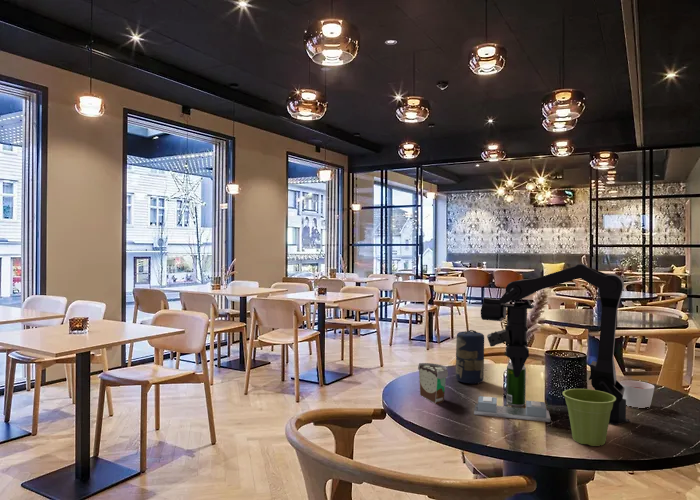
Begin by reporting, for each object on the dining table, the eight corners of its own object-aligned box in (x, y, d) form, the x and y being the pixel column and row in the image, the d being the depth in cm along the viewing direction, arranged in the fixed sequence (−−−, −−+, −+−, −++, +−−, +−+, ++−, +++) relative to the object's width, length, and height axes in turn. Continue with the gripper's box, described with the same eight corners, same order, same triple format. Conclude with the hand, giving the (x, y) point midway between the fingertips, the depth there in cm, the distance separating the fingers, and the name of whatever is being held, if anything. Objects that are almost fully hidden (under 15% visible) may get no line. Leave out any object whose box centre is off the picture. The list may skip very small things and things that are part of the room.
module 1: (496, 406, 148) (496, 396, 148) (496, 412, 143) (496, 402, 143) (478, 404, 150) (478, 395, 150) (477, 410, 144) (477, 401, 144)
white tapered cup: (646, 412, 147) (647, 390, 147) (614, 404, 154) (614, 383, 154) (659, 406, 153) (659, 385, 153) (627, 399, 160) (627, 378, 160)
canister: (450, 379, 182) (451, 328, 182) (474, 377, 185) (474, 327, 185) (464, 386, 173) (465, 332, 173) (489, 384, 176) (489, 331, 175)
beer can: (517, 408, 150) (517, 367, 150) (502, 403, 154) (503, 363, 154) (529, 405, 153) (529, 365, 153) (514, 400, 157) (514, 361, 157)
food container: (456, 403, 154) (456, 370, 154) (438, 405, 151) (438, 372, 151) (434, 392, 165) (434, 361, 165) (417, 394, 163) (418, 362, 163)
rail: (548, 414, 145) (548, 410, 145) (550, 422, 138) (550, 418, 138) (475, 406, 151) (475, 403, 151) (474, 414, 144) (474, 410, 144)
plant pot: (578, 428, 133) (578, 385, 133) (624, 443, 124) (625, 396, 124) (552, 438, 126) (552, 393, 126) (599, 454, 117) (600, 405, 117)
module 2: (544, 410, 145) (544, 401, 145) (546, 417, 139) (546, 407, 139) (525, 408, 146) (526, 399, 146) (526, 415, 140) (526, 405, 140)
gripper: (489, 317, 165) (489, 365, 165) (488, 325, 147) (487, 380, 147) (526, 319, 161) (525, 368, 161) (529, 328, 143) (528, 383, 144)
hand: (516, 374), depth 153 cm, fingers closed on beer can, 5 cm apart
